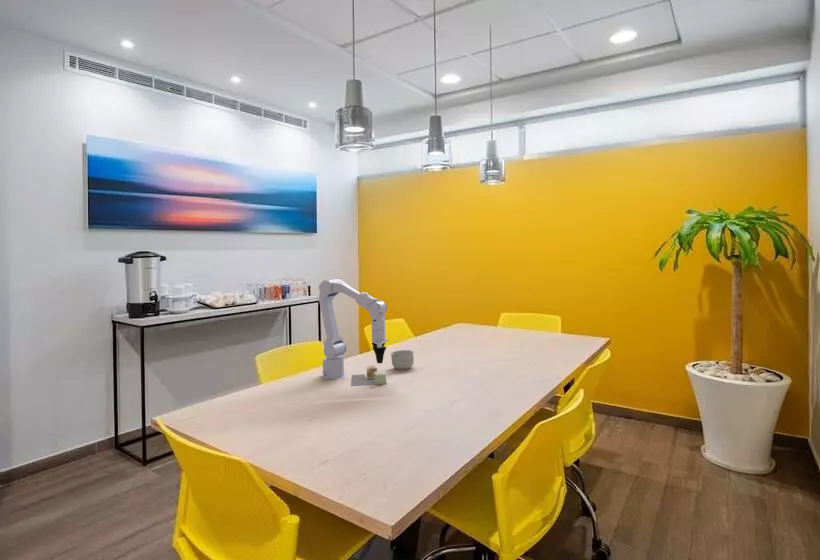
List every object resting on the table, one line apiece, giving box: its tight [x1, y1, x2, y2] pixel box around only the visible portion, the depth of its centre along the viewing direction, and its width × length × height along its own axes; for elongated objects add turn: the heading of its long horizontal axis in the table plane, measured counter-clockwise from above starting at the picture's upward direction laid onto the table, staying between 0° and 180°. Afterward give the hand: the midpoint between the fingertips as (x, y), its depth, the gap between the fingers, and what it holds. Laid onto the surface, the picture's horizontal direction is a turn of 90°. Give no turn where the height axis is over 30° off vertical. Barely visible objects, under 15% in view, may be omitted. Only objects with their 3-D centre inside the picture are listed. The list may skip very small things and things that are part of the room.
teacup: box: [390, 349, 415, 371], centre depth 227 cm, size 14×11×8 cm
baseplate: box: [350, 373, 388, 387], centre depth 207 cm, size 15×17×1 cm
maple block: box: [366, 365, 378, 378], centre depth 212 cm, size 4×4×4 cm
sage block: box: [375, 371, 387, 385], centre depth 202 cm, size 4×4×4 cm
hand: (379, 360), depth 202 cm, fingers open, 7 cm apart
